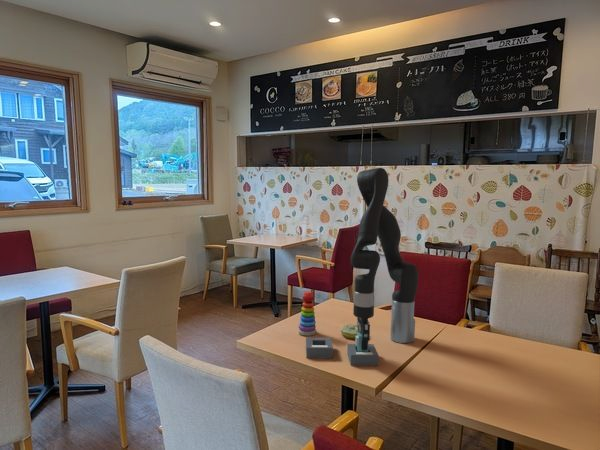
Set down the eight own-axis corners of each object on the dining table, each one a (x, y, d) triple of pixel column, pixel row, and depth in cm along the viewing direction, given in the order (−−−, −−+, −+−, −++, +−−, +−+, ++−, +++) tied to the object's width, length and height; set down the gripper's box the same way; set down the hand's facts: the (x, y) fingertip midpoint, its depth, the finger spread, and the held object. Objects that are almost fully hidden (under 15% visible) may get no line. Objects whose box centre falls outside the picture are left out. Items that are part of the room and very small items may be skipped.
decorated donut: (369, 334, 179) (369, 325, 179) (360, 342, 170) (360, 333, 169) (347, 329, 184) (347, 321, 184) (337, 337, 175) (337, 328, 175)
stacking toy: (316, 336, 175) (317, 294, 173) (297, 336, 175) (298, 294, 173) (316, 330, 183) (316, 289, 181) (298, 329, 183) (298, 289, 181)
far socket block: (330, 347, 164) (330, 337, 164) (332, 358, 154) (333, 347, 154) (305, 347, 164) (305, 337, 163) (306, 358, 154) (306, 347, 154)
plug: (366, 357, 155) (367, 332, 154) (367, 361, 151) (368, 336, 150) (354, 357, 155) (355, 332, 154) (356, 361, 151) (356, 335, 150)
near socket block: (373, 354, 158) (373, 343, 158) (378, 365, 148) (378, 354, 148) (347, 353, 158) (347, 343, 158) (350, 365, 148) (351, 354, 148)
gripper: (377, 309, 144) (376, 353, 146) (370, 297, 158) (369, 337, 160) (356, 309, 144) (355, 353, 145) (351, 297, 158) (350, 337, 160)
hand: (362, 345), depth 153 cm, fingers open, 8 cm apart
